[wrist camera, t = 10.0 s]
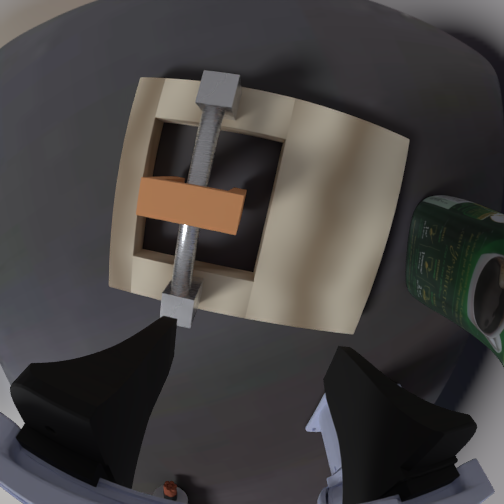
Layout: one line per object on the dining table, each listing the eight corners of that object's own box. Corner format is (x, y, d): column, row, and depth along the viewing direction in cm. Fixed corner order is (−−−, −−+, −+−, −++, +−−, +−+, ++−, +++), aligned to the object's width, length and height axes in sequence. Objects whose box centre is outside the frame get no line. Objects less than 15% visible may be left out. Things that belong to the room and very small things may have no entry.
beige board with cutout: (397, 141, 18) (409, 139, 16) (345, 322, 23) (353, 334, 21) (149, 85, 17) (140, 77, 15) (119, 277, 21) (108, 286, 19)
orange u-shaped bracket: (246, 190, 19) (244, 195, 13) (240, 217, 19) (235, 235, 14) (173, 176, 19) (141, 176, 13) (168, 203, 19) (135, 214, 13)
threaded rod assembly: (241, 93, 16) (239, 75, 12) (199, 302, 20) (190, 328, 16) (212, 89, 16) (203, 70, 12) (173, 297, 20) (159, 320, 16)
